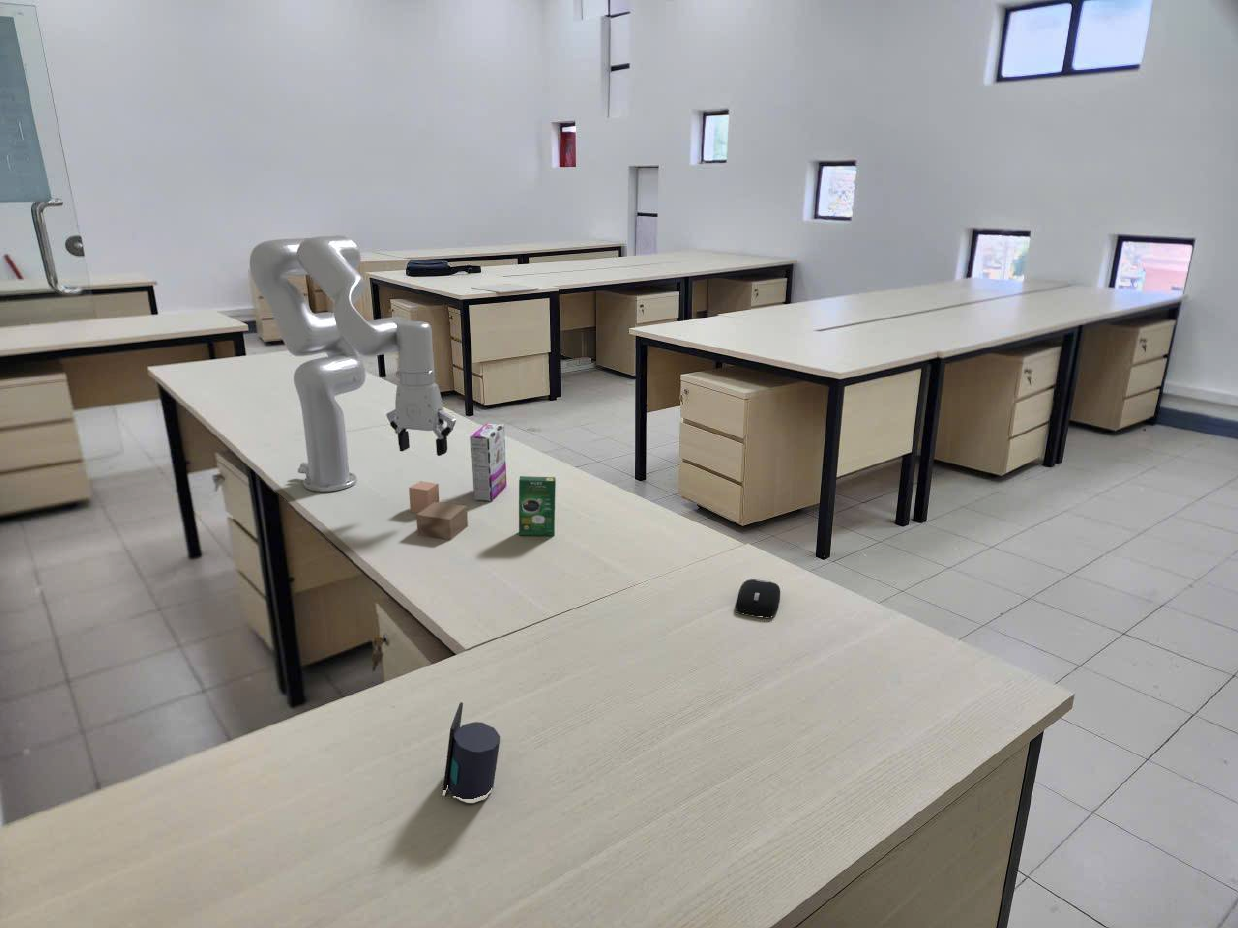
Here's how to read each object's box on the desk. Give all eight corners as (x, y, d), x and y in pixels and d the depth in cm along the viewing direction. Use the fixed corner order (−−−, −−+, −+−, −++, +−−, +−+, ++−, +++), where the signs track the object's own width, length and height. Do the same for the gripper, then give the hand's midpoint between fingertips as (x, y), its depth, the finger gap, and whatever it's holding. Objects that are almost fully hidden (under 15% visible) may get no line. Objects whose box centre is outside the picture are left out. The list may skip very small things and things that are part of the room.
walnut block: (417, 535, 177) (416, 514, 176) (435, 522, 185) (434, 501, 183) (450, 541, 175) (449, 519, 174) (467, 527, 183) (467, 506, 181)
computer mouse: (784, 592, 156) (785, 573, 155) (774, 622, 146) (775, 602, 144) (745, 585, 159) (746, 567, 157) (732, 614, 148) (733, 594, 147)
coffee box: (556, 531, 181) (556, 475, 177) (555, 536, 178) (555, 480, 174) (519, 531, 181) (518, 475, 176) (518, 536, 178) (517, 479, 173)
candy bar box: (488, 484, 207) (486, 422, 202) (507, 486, 206) (505, 424, 201) (472, 500, 197) (469, 435, 192) (491, 502, 196) (489, 437, 191)
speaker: (426, 793, 103) (431, 724, 100) (452, 766, 108) (458, 700, 105) (478, 816, 100) (485, 746, 97) (502, 788, 106) (509, 720, 102)
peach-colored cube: (410, 512, 190) (409, 487, 188) (421, 504, 194) (420, 481, 192) (428, 515, 188) (427, 490, 186) (439, 507, 192) (438, 483, 191)
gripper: (374, 378, 180) (381, 452, 185) (443, 384, 175) (448, 460, 180) (393, 372, 187) (399, 443, 192) (460, 377, 181) (465, 451, 187)
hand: (423, 451), depth 186 cm, fingers open, 9 cm apart
